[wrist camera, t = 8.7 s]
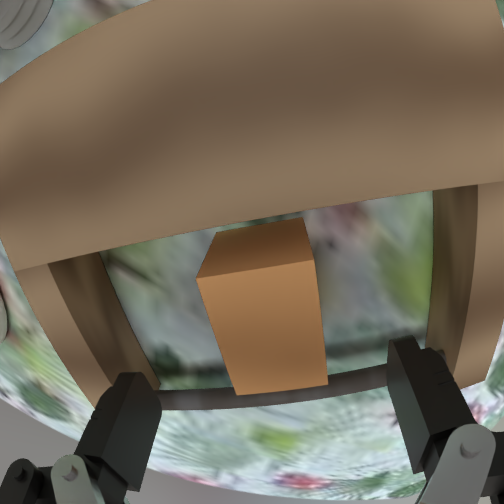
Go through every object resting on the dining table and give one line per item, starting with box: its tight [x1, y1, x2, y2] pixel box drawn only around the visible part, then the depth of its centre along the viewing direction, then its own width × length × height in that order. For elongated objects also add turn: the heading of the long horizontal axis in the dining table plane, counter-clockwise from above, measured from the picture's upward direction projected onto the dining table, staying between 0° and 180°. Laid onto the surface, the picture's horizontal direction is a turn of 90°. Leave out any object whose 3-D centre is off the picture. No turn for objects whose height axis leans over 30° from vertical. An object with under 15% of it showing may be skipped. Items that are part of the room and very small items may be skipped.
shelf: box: [0, 0, 504, 410], centre depth 13 cm, size 19×22×4 cm
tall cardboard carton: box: [196, 217, 328, 395], centre depth 14 cm, size 6×4×4 cm, turn 12°
